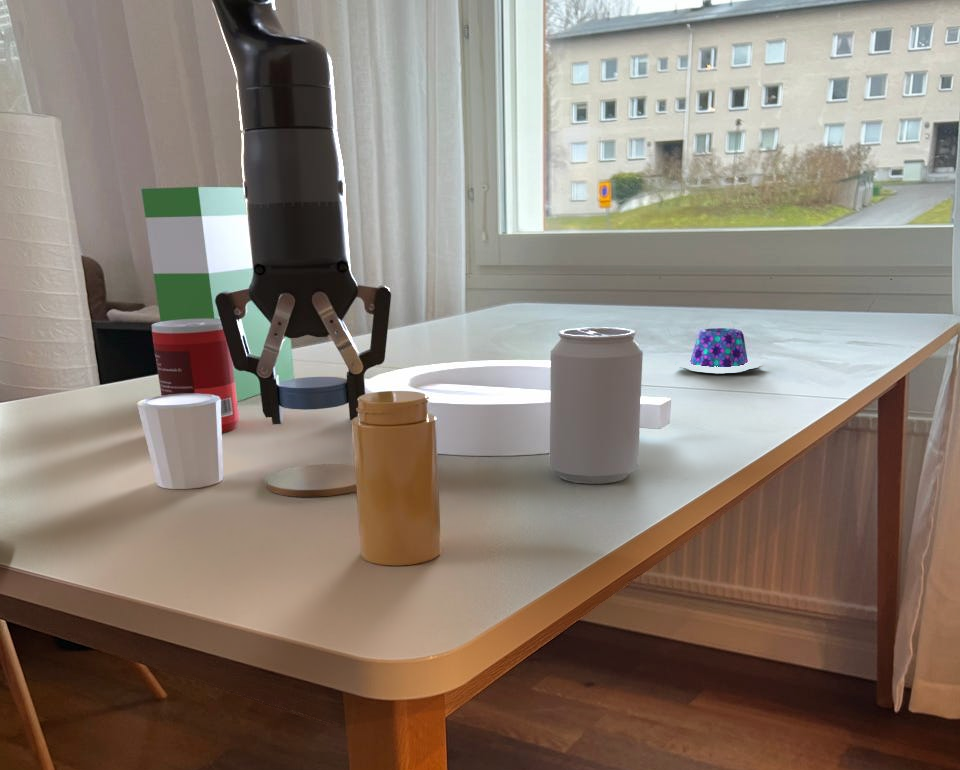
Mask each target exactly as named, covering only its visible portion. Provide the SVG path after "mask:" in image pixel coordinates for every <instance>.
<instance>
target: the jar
mask: <svg viewBox="0 0 960 770" xmlns="http://www.w3.org/2000/svg"><path fill="white" fill-rule="evenodd" d="M428 402H429V397H428V395H426V394H424V393H420V392H414V391H383V392H374V393H369V394H364V395H362V396H360V397H358V408H356V409H357V412H359V413H358V417H355V418H353V419H352V421H350V425H351V435H352V437H351V439H352V450H353V452H352V453H353V463H354V464H353V465H354V466H355V480H356V491H355V493H356V506H357V518H358V521H357V522H358V533H359V548H360V556H361V558H362V559H363V560H365V561H366V562H368V563H371V564H375V565H380V566H390V567H391V566H393V567H394V566H395V567H397V566H410V565H417V564H422V563H426V562H429V561H432V560H434V559H436V558H437V557H439V555H440V554H441V553H442V537H441V513H440V512H441V511H440V487H439V461H438V459H439V458H438V454H437V433H436V417H435V416H434V415H431V414H428Z"/></svg>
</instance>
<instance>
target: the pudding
mask: <svg viewBox="0 0 960 770" xmlns="http://www.w3.org/2000/svg"><path fill="white" fill-rule="evenodd" d="M747 354H748V353H747V348H746V341H745V335H744V332H743V331H742V330H740V329H736V328H726V327H717V328H713V327H712V328H706V329H705V328H704V329H701V330H700V331H699V332H698V334H697V337H696V340H695V343H694V346H693V350H692V354H691V357H690V359H691V360H690V362H691V364H693V365H701V366H709V367H714V366H716V367H717V366H718V367H731V366H740V365H744V364H745V363H747V362H748V360H749V359H748V355H747Z"/></svg>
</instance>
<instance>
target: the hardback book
mask: <svg viewBox="0 0 960 770" xmlns="http://www.w3.org/2000/svg"><path fill="white" fill-rule="evenodd" d="M141 196H142V205H143V211H144V217H145V222H146V223H145V224H146V230H147V231H146V232H147V236H148V237H147V239H148V244H149V252H150V258H151V266H152V273H153V278H154V279H153V280H154V287H155V292H156V300H157V307H158V313H159V322H163V321H170V320H181V319H220V317H219V313H218V310H217V307H216V303H215V298H216V296H217V295H218V294H219V293H221V292H223V291H229V292H233V291H237V290H242V289H247V288H249V285H250V283H251V281H252V277H253V264H252V255H251V246H250V237H249V228H248V219H247V209H246V200H245V197H244V194H243V187H237V186H235V187H232V186H231V187H229V186H183V187H182V186H181V187H155V188H149V187H148V188H141ZM241 323H242V326H243V330H244V333H245V337H246V340H247V344H248V348H249V351H250V354H252V355H255V356H258V357H261V354H262V351H263V348H264V344H265V341H266V338H267V335H268V332H269V328H270V325H271V323H270V322H269V321H268V320H267V319H266V317H265V316H264V315H263V314H262V313H261V311H260V310H259V309H258V308H257V306H256V305H255V304H254V303H253V302H252V301H249V302H248V304H247V314H246V315H245V316H244V317H243V318H242V319H241ZM233 370H234V379H235V388H236V396H237V403H238V402H241V401H244V400H247V399H250V398H252V397H256V396H258V395H261V391H260V382H259V379H258V377H257V376H256V375H255V374H253V373H250V372H246V371H239V370H237V369H236V368H235V367H234V365H233ZM275 374H276V375H278V377H279V382H281V381H285V380H289V379H295V370H294V359H293V348H292V338H288V337H285V339H284V342H283V345H282V347H281V350H280V353H279V356H278V359H277V362H276V365H275Z"/></svg>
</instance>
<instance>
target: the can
mask: <svg viewBox="0 0 960 770" xmlns="http://www.w3.org/2000/svg"><path fill="white" fill-rule="evenodd" d="M557 334H558V336H559V341H558V342H557V343H556V344H555V345H554V346H553V348H552V349H551V350H550V361H551V372H550V453H549V467H550V469H552V470H553V471H554V473H556V474H557V475H558V477H559V478H560V479H562V480H565V481H568V482H569V483H570V482H571V483H577V484H587V485H601V484H602V485H603V484H611V483H617V482H621V481H623V480H626V479H627V478H628V477H629V475H630V474H632V473H633V472H634V471H635V470H636V469H637V468H638V467H639V447H640V446H639V445H640V428H639V427H640V404H641V397H642V380H643V359H644V358H643V356H644V351H643V349H642V348H641V347H640V346H639V344H638V343H637V342H636V341H635V340H634V339H635V336H636V335H637V333H636V332H635V330H634V329H629V328H621V327H579V328H568V329H564V330H560V331H559V332H558V333H557ZM627 476H628V477H627ZM625 478H626V479H625Z"/></svg>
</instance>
